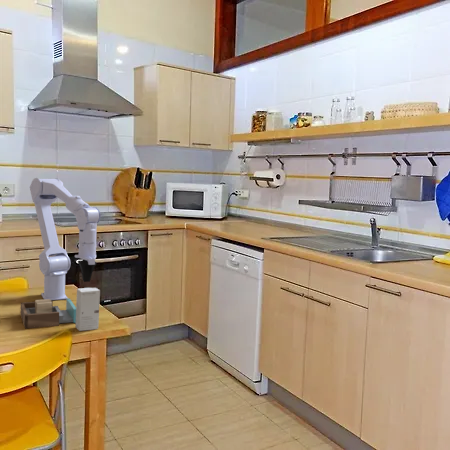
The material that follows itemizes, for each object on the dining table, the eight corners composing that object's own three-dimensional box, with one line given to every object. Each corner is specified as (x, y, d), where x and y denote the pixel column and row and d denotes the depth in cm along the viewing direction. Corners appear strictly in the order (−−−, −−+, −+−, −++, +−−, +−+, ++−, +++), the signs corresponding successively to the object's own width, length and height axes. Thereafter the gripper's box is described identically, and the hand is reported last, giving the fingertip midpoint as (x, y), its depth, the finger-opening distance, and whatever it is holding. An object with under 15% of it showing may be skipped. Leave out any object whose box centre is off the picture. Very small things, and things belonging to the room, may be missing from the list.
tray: (24, 314, 157) (24, 301, 156) (69, 310, 163) (69, 298, 163) (29, 327, 146) (29, 312, 145) (76, 322, 152) (77, 309, 152)
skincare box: (79, 331, 145) (80, 292, 143) (74, 327, 148) (75, 288, 147) (99, 328, 148) (100, 290, 147) (94, 324, 152) (95, 286, 150)
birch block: (35, 315, 154) (35, 300, 154) (49, 314, 156) (49, 299, 156) (36, 319, 150) (37, 303, 150) (51, 318, 153) (52, 302, 152)
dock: (20, 314, 157) (20, 302, 156) (51, 312, 161) (52, 300, 161) (25, 328, 144) (25, 315, 144) (58, 325, 149) (59, 312, 149)
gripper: (71, 239, 170) (70, 277, 172) (79, 246, 158) (78, 287, 159) (91, 239, 174) (90, 276, 175) (101, 245, 161) (100, 285, 163)
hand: (86, 281), depth 167 cm, fingers closed
